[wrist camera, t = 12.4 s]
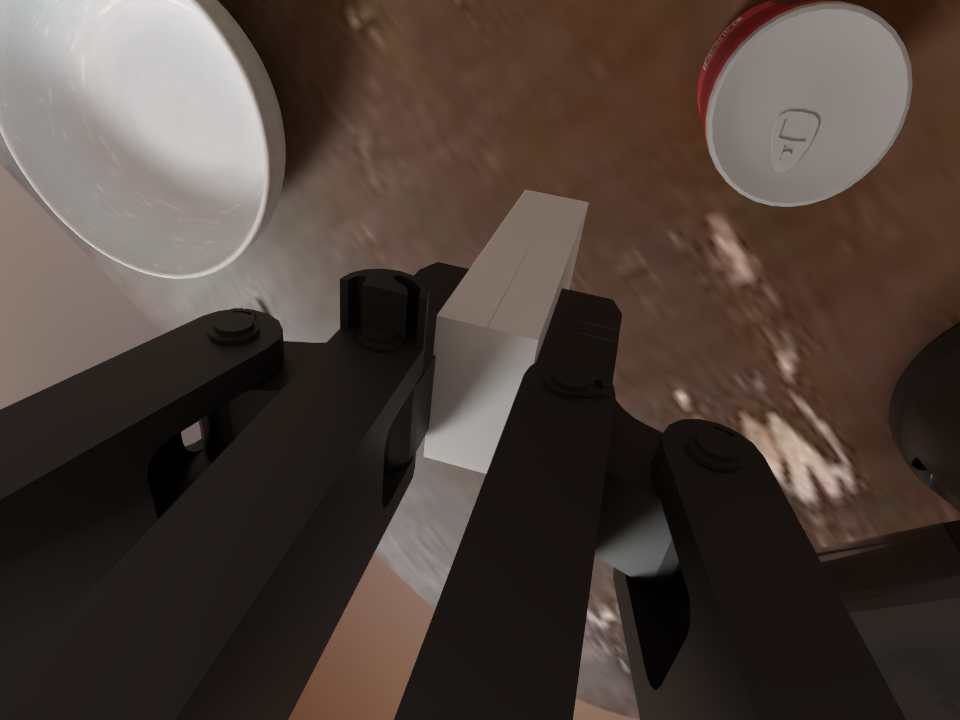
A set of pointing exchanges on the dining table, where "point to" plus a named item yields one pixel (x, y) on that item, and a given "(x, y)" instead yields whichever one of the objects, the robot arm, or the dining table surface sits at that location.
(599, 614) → the dining table surface
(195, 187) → the serving bowl
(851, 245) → the dining table surface
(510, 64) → the dining table surface
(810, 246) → the dining table surface
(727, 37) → the canned food
